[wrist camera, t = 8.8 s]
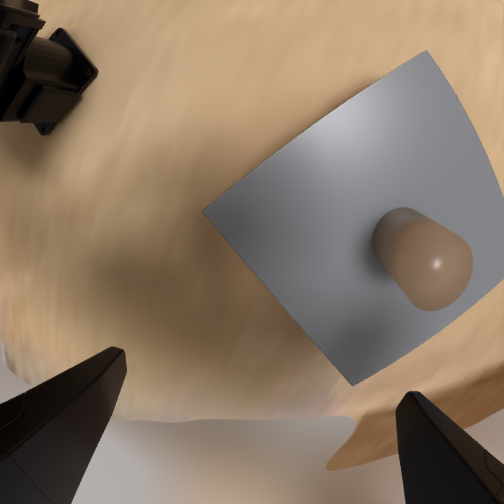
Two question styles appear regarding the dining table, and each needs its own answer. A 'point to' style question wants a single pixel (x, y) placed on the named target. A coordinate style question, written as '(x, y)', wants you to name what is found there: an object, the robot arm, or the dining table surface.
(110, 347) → the robot arm
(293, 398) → the dining table surface
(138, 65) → the dining table surface
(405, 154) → the lid
